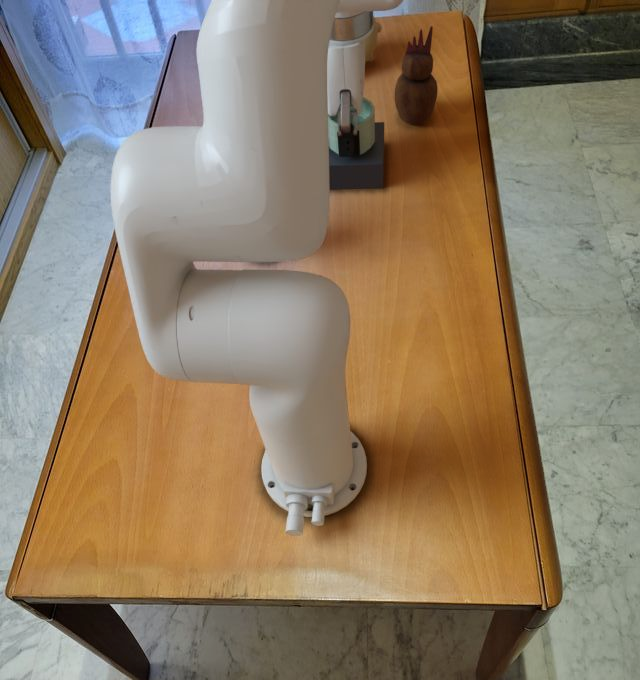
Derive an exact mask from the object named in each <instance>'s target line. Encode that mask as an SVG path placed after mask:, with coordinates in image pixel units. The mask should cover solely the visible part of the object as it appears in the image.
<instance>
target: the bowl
mask: <svg viewBox="0 0 640 680" xmlns="http://www.w3.org/2000/svg"><path fill="white" fill-rule="evenodd" d="M350 111H354V107H353V106H350ZM337 113H338V111H337ZM350 122H351V124H353V116H350ZM375 122H376V107H375V105H374V104H373V102H372V101H371V100H369V99H368V98H366V97H364V96H363V100H362V109H361V113H360V114H359V115H357V131H359V136H360V155H361V154H363V153H365V152H366V151H367V150H369V149H370V148H371V147H372V145H373V144H374V142H375ZM337 131H338V115H337V114H336V116H329V114H328V138H329V147H330V149H331V150H333V151H334V152H336V153H337V154H339V151H338V138H337Z"/></svg>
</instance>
